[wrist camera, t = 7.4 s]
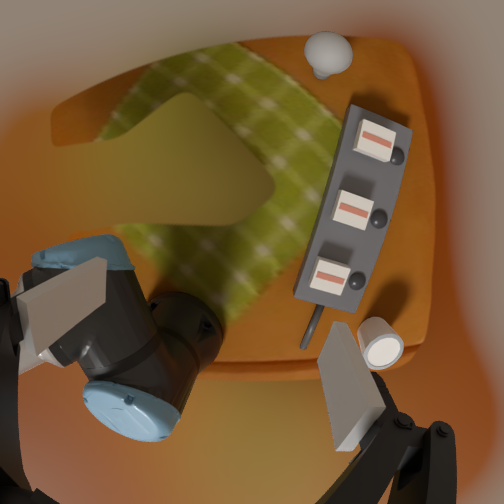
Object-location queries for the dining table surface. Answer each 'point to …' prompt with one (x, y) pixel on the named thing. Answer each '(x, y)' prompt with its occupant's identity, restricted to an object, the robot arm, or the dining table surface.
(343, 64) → the lightbulb
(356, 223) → the middle switch
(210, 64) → the dining table surface
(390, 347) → the white cup
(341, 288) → the cord end switch
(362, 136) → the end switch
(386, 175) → the power strip
